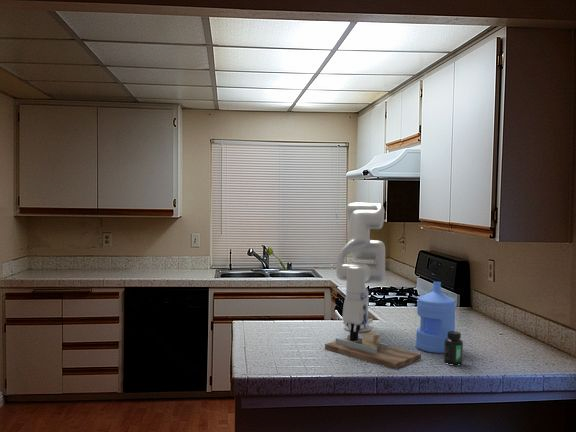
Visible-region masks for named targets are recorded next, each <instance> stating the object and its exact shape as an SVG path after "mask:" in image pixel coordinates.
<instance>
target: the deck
mask: <svg viewBox="0 0 576 432" xmlns="http://www.w3.org/2000/svg"><path fill="white" fill-rule="evenodd" d="M342 339H343V340H347V339H348V337H346V338H342ZM347 341H350V340H347ZM351 342H354V341H351ZM355 343H358V342H355ZM358 344H362V343H358ZM324 350H327V351H329V352H330V351H332V352H335V353H337V354H342V355H345V356H348V357H351V356H352V358H355V359H359V360H363V361H365V360H366V362H369V363H372V362H373V363H372V364H376V363H377V364H376V365H379V364H380V366H383V365H384V366H383V367H386V366H387V368H390V367H391V368H390V369H393V368H394V369H393V370H397V369H399V368H398V367H400V368H402V367H404V366H403V365H405V366H407V365H410V364H412V363H415V362H418V361H420V360H421V359H422V354H421V353H417V352H414V351H410V350H406V349H402V348H398V347H394V346H390V345H389V350H385V349H381V348H380V349H378V350H377V354H374V353H370V352H366V351H363V350H359V349H355V348H352V347H348V346H344V345H341V344H337V343H336V340H335V341H331V342H327V343H325V344H324ZM419 359H420V360H419ZM417 360H418V361H417ZM414 361H415V362H414ZM411 362H412V363H411ZM409 363H410V364H409ZM406 364H407V365H406ZM401 366H402V367H401ZM396 368H397V369H396Z"/></svg>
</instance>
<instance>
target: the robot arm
mask: <svg viewBox="0 0 576 432" xmlns="http://www.w3.org/2000/svg"><path fill="white" fill-rule="evenodd" d="M345 209H346V216H347V218H348V219H347V220H348V222H349V233H348V242H347V243H346V244H345V245H343V247H342V248H341V249H340V250H339V253H338V255H337V261H336V263H337V264H336V277H337V278H338V279H339V280H340V281H345V282H346V284H345V287H346V288H345V290H346V291H345V298H344V300H343V301H344V302H343V307H342V322H343V324H344V326H343V328H344V330H346V331H349V335H350V341H357V340H358V337H359V333H367V332H371V330H372V327H371V326H370V325H369V324H371V323H373V321H374V320H373V318H369V300H370V299H369V296H370V295H369V294H370V293H369V290H368V288H367V287H366V284H373V285H374V284H375V285H376V284H382V283H384V281H385V276H386V275H385V274H386V246H385V243H384V242H383V241H381V240H378V239H377V240H376V239H371V238H370V234H371V230H380V229H382V228H383V227H384V221H385V207H384V205H383V204H382V203H379V202H351V203H348V204H347V205H346V208H345ZM349 254H351V257H352V258H353V259H354V260H360V261H361V260H362V261H374V262H375V263H373V262H353V263H352V262H350V263H349V262H345V258H346V257H347V256H348V255H349Z"/></svg>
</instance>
